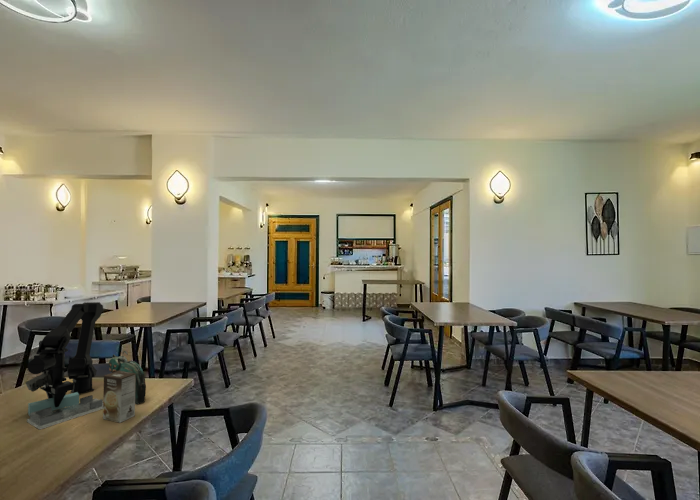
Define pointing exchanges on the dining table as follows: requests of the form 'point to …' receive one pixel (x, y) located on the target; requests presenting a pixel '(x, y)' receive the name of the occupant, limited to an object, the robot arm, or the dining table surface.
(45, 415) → the cup bracket
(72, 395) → the rail
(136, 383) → the ceramic cat
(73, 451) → the dining table surface
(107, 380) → the coffee box
